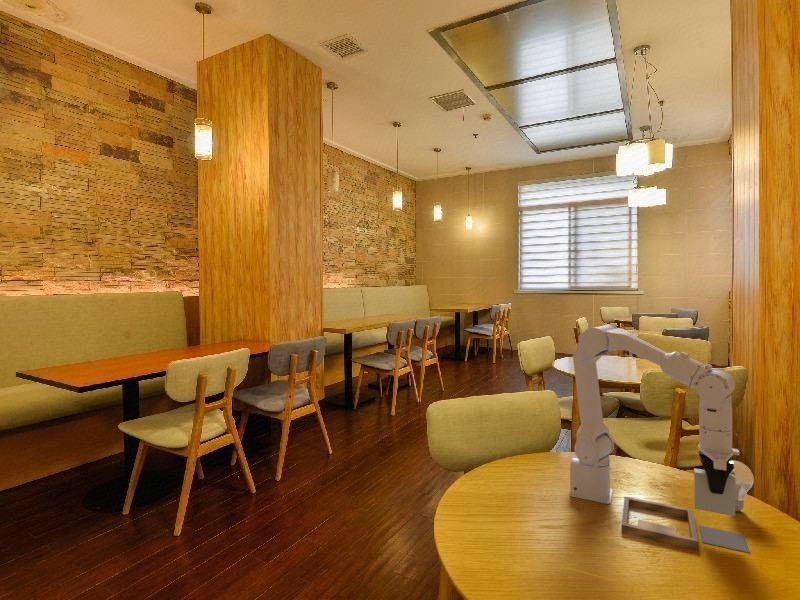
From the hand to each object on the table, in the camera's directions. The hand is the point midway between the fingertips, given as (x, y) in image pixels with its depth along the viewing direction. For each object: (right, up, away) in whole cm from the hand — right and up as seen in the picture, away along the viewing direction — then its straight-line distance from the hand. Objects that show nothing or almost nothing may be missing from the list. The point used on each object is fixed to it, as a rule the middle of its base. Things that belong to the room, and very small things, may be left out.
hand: (715, 490), depth 94 cm
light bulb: (+12, -10, +11) cm, 19 cm away
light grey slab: (0, -4, 0) cm, 4 cm away
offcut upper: (-11, -10, +3) cm, 15 cm away
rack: (-9, -10, +6) cm, 15 cm away
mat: (+1, -10, 0) cm, 10 cm away
